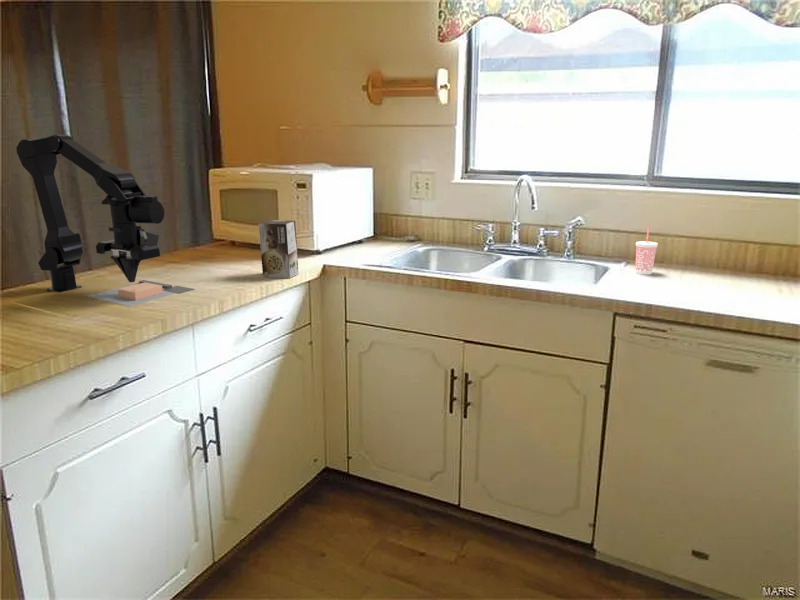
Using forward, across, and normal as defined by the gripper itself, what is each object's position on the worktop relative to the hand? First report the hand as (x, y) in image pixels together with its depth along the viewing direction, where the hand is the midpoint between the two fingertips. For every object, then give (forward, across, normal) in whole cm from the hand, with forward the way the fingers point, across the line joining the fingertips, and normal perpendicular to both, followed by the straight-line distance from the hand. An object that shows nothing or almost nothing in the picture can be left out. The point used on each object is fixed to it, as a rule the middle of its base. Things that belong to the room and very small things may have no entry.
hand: (132, 281), depth 154 cm
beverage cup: (+4, -110, -93) cm, 145 cm away
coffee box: (+4, -18, -36) cm, 41 cm away
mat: (+4, 0, 0) cm, 4 cm away
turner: (+4, -1, -8) cm, 9 cm away
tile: (+2, 0, 0) cm, 2 cm away
